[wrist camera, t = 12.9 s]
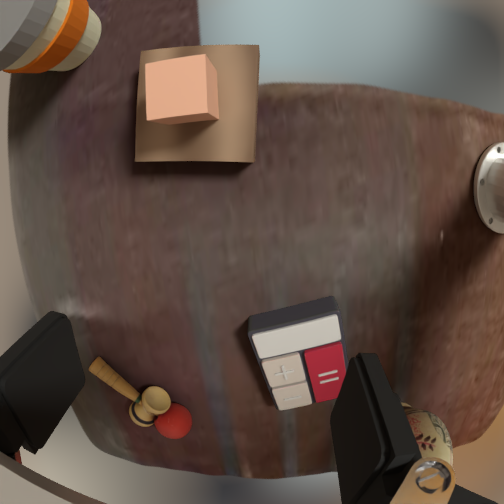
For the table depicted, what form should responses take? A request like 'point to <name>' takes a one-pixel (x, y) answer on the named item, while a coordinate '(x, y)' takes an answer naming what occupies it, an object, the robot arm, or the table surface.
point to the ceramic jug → (429, 433)
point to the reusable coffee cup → (46, 35)
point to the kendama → (147, 403)
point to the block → (181, 90)
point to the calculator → (300, 352)
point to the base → (211, 131)
